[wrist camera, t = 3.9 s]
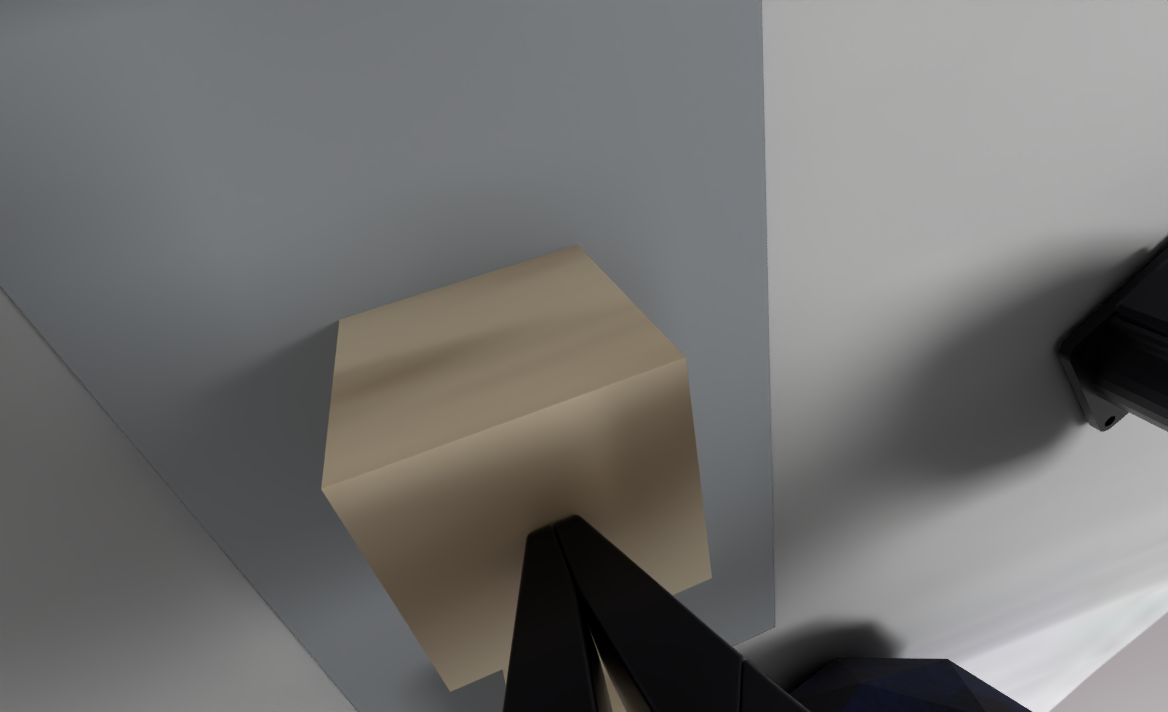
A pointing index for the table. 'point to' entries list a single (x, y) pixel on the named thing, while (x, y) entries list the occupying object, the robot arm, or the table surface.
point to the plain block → (508, 445)
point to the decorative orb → (899, 688)
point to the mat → (379, 246)
